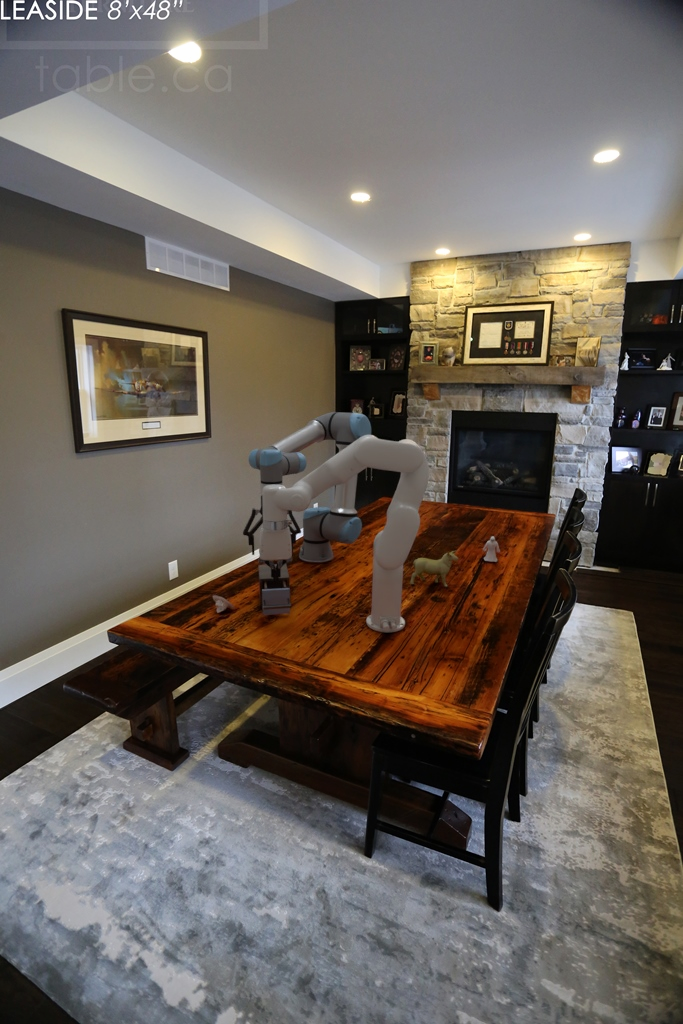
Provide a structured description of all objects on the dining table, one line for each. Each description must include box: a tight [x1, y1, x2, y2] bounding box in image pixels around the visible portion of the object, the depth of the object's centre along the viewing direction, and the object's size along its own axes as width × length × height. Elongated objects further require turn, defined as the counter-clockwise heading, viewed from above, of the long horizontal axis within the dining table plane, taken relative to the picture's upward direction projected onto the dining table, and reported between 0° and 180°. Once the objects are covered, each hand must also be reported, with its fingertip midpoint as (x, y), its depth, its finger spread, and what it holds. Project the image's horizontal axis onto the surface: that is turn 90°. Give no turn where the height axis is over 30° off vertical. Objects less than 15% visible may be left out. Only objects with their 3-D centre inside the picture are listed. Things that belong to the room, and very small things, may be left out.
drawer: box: [262, 580, 292, 616], centre depth 168 cm, size 18×9×9 cm, turn 11°
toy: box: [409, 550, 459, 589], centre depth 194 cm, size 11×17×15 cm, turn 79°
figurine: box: [482, 535, 501, 563], centre depth 223 cm, size 8×8×12 cm
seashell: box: [212, 594, 235, 614], centre depth 169 cm, size 8×5×8 cm
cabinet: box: [258, 563, 290, 609], centre depth 179 cm, size 14×10×11 cm
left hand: (272, 553), depth 178 cm, fingers open, 13 cm apart
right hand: (275, 579), depth 161 cm, fingers closed
